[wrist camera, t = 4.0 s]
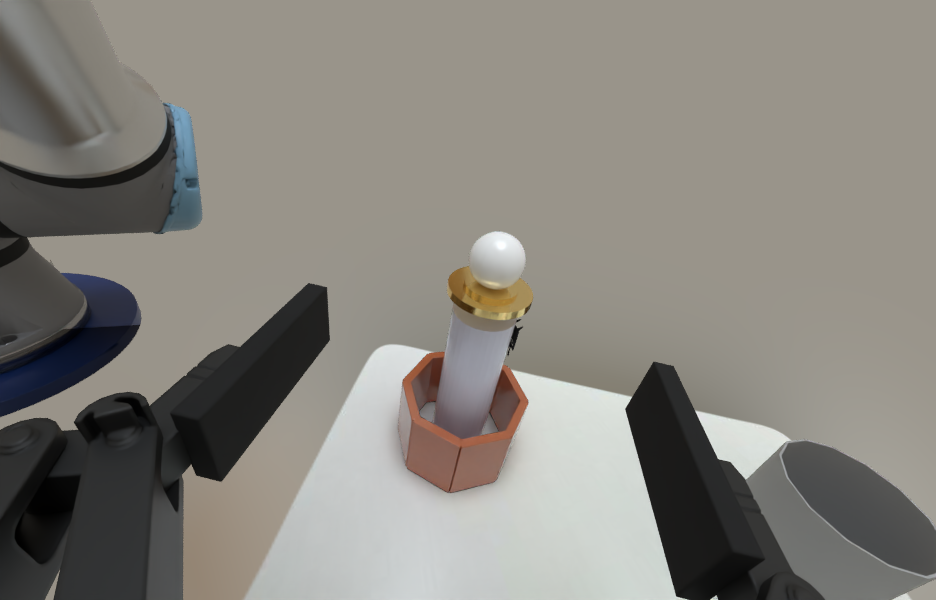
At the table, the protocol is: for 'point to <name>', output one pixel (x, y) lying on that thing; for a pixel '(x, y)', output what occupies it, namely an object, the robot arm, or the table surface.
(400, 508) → the table surface
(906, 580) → the cup
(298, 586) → the table surface
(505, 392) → the holder
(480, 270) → the perfume bottle
